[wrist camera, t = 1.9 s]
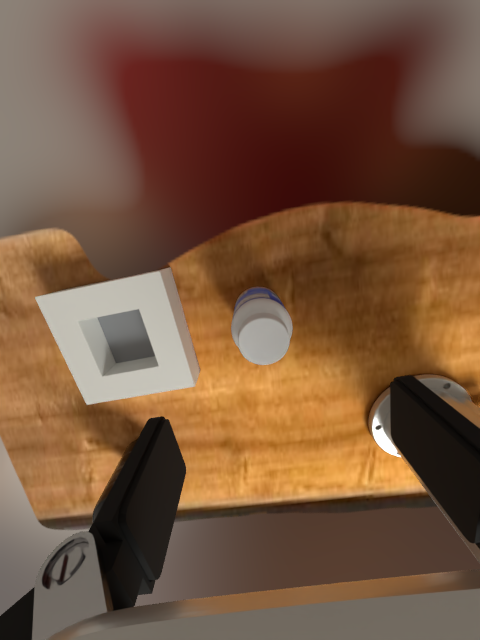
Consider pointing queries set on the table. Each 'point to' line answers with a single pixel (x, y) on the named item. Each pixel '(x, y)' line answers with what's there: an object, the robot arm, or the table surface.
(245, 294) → the pill bottle
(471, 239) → the table surface
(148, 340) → the housing
